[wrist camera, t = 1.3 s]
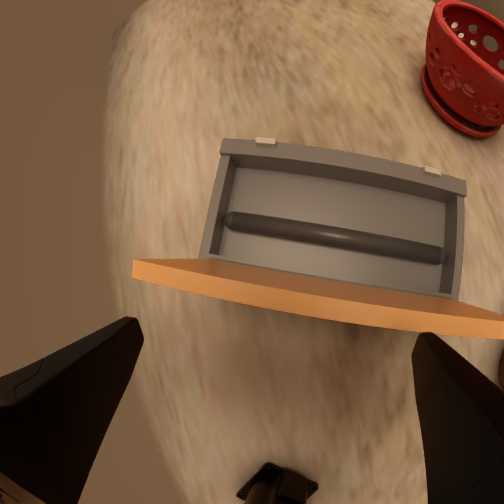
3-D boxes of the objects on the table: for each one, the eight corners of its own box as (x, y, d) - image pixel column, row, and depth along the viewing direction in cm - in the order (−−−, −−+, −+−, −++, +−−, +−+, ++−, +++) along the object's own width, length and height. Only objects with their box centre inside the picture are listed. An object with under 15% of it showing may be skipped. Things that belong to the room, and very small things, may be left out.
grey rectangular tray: (438, 310, 22) (462, 313, 17) (210, 271, 26) (191, 268, 21) (447, 194, 23) (469, 178, 18) (234, 157, 27) (221, 134, 22)
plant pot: (448, 54, 24) (474, -4, 12) (511, 129, 21) (558, 83, 10) (387, 74, 25) (408, -3, 14) (460, 165, 23) (521, 108, 11)
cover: (448, 296, 18) (445, 309, 18) (212, 257, 22) (210, 270, 22) (532, 322, 8) (527, 342, 8) (134, 256, 12) (131, 279, 12)
